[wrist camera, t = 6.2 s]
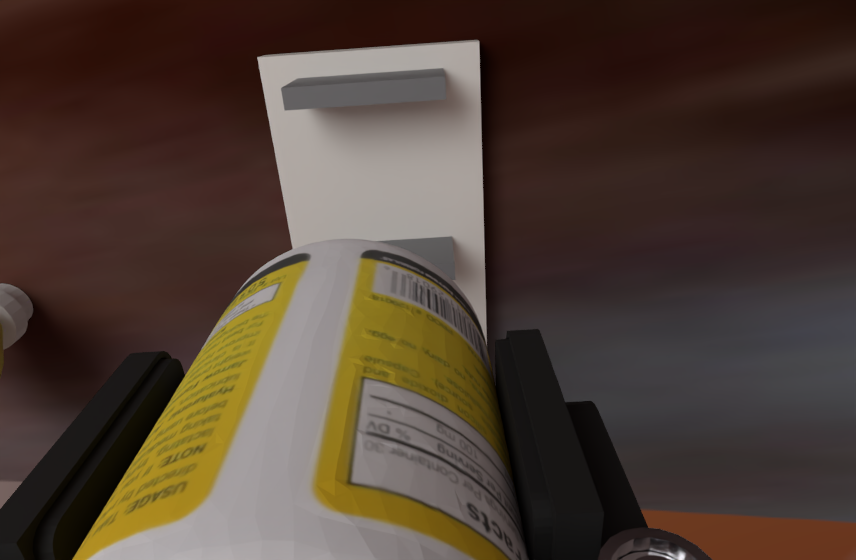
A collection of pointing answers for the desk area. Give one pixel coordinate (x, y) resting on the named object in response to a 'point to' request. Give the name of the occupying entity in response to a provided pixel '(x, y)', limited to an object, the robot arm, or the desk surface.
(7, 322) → the light bulb
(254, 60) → the desk surface
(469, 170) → the white rack stand
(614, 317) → the desk surface
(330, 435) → the supplement bottle
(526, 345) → the robot arm
